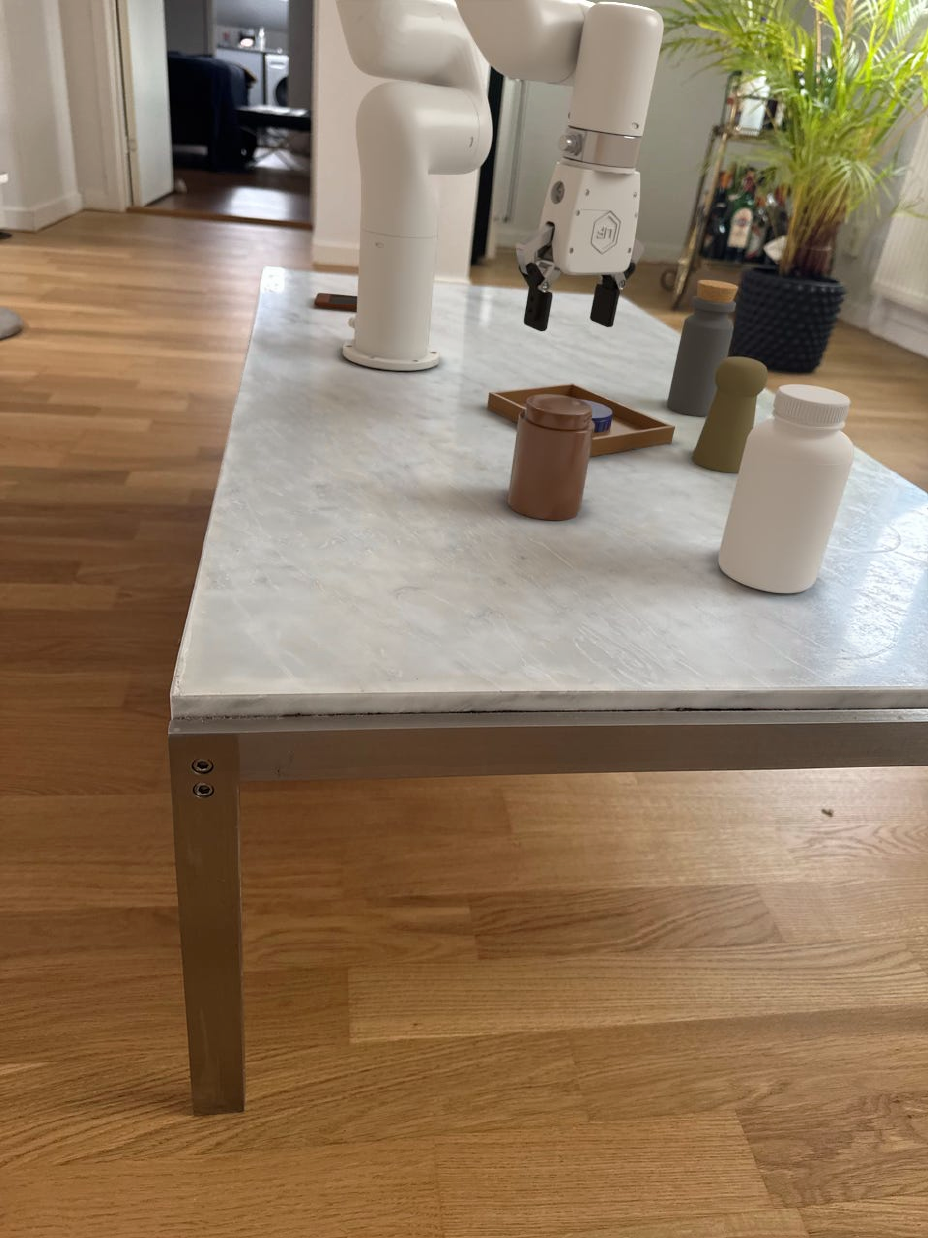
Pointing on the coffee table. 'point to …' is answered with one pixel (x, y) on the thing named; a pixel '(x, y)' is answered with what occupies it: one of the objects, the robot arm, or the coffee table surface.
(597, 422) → the lid
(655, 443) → the tray
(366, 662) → the coffee table surface
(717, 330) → the bottle
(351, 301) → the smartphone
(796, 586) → the pill bottle
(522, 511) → the jar
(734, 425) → the olive pepper mill
